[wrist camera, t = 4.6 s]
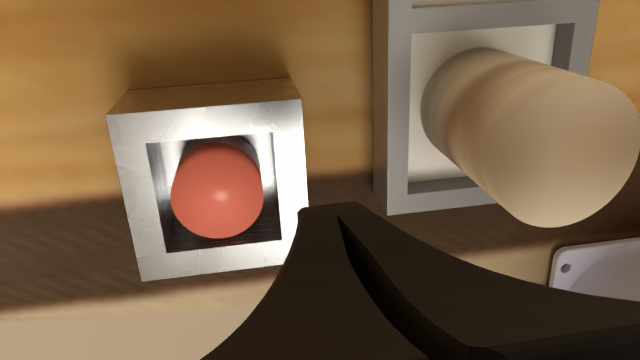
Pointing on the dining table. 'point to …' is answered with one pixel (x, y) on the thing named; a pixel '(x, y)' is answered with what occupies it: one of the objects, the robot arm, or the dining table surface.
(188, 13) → the dining table surface
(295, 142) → the button housing
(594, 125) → the cylinder
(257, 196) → the button
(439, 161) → the shallow grey tray
